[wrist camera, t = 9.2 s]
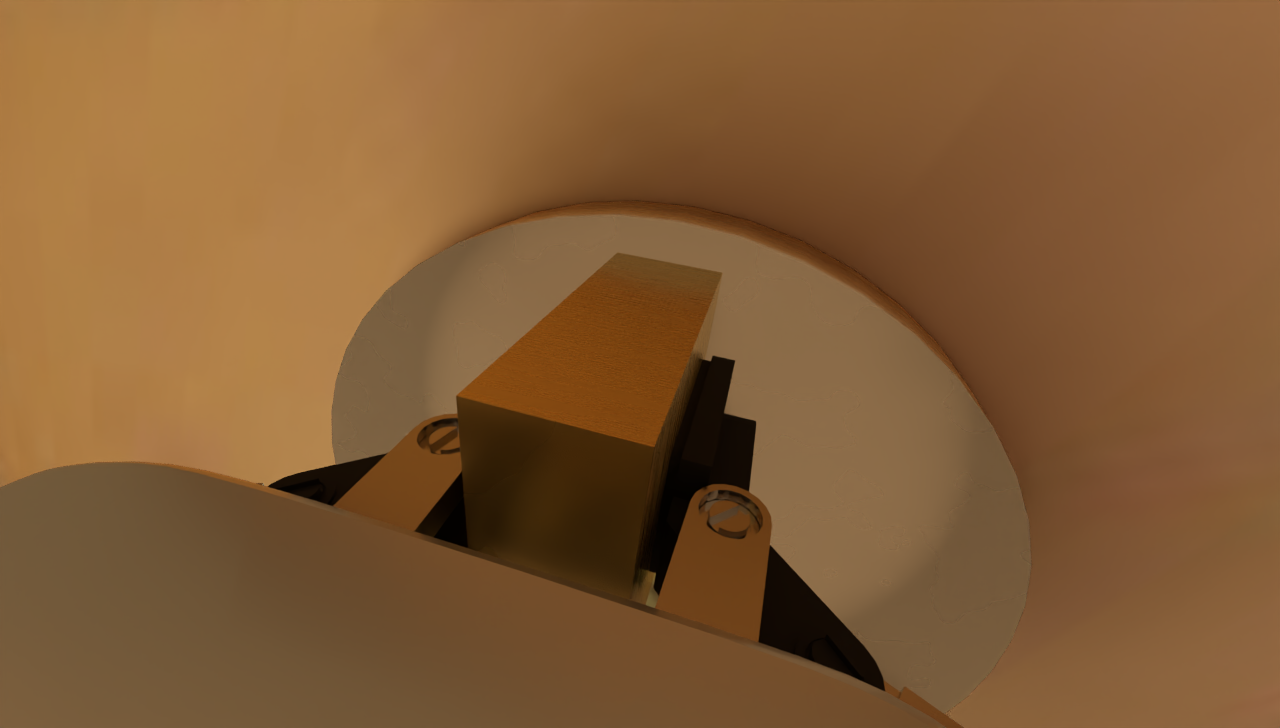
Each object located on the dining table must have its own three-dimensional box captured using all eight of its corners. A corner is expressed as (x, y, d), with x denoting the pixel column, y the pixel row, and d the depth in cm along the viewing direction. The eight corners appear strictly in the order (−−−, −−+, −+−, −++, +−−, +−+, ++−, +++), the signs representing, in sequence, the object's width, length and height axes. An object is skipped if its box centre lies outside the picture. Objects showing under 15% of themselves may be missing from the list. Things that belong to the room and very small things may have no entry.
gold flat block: (617, 252, 11) (424, 424, 5) (722, 272, 11) (640, 482, 5) (597, 468, 14) (461, 729, 9) (678, 491, 14) (594, 780, 8)
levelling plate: (1192, 292, 11) (1288, 339, 9) (858, 771, 22) (865, 843, 20) (321, 142, 15) (243, 149, 13) (407, 613, 25) (373, 659, 23)
